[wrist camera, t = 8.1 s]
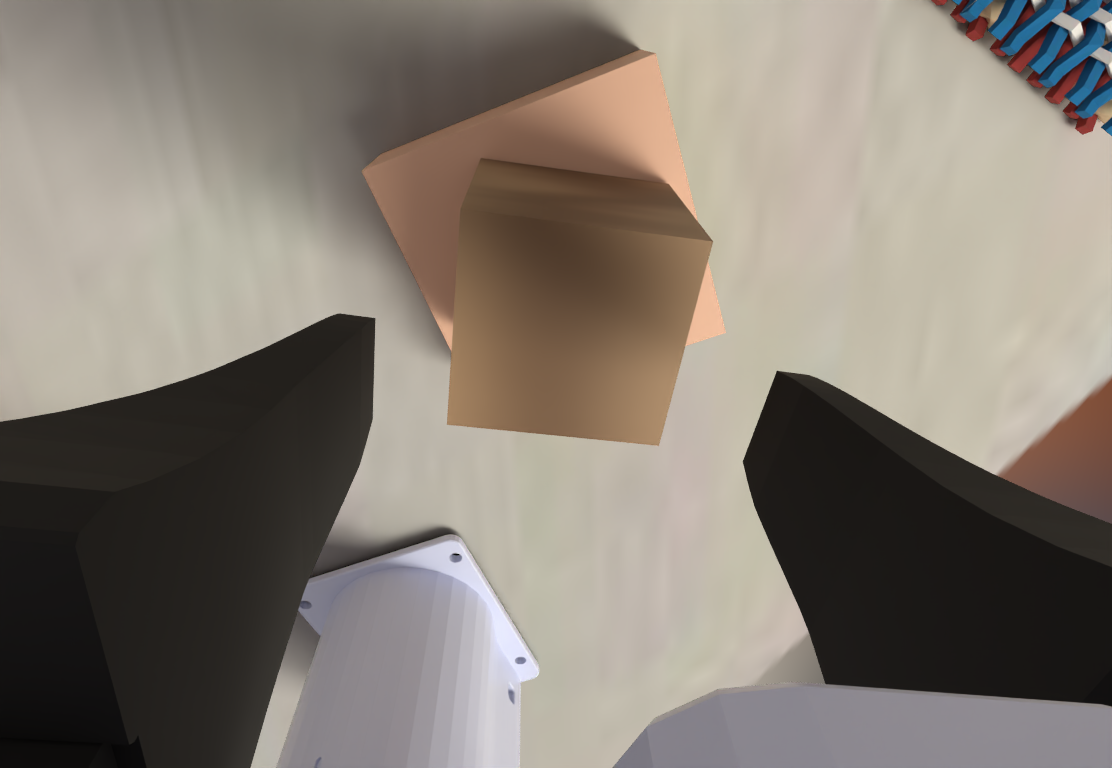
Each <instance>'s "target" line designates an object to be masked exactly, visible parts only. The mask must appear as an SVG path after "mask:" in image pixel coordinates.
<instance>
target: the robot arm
mask: <svg viewBox="0 0 1112 768" xmlns="http://www.w3.org/2000/svg"><path fill="white" fill-rule="evenodd" d="M374 348H375V318H369V317H362V316H354V315H346V314H336V315H333V316H330V317H328V318H325V319H323V320H321V321H319V322H317V323H315V324H313V325H311V326H309V327H307V328H305V329H303V330H301V331H299V332H297V333H294V334H292V335H290V336H288V337H286V338H284V339H282V340H280V341H278V342H276V343H274V344H272V345H270V346H268V347H265V348H263V349H261V350H259V351H256V352H254V353H252V354H249V355H247V356H244V357H242V358H240V359H237V360H235V361H233V362H230V363H228V364H226V365H223V366H221V367H218V368H216V369H214V370H211V371H208V372H205V373H203V374H200V375H197V376H194V377H191V378H189V379H186V380H183V381H179V382H176V383H173V384H170V385H166V386H163V387H160V388H157V389H154V390H150V391H146V392H143V393H139V394H135V395H131V396H127V397H123V398H118V399H114V400H110V401H105V402H101V403H97V404H93V405H88V406H84V407H80V408H76V409H71V410H66V411H61V412H56V413H50V414H45V415H39V416H33V417H28V418H22V419H16V420H9V421H3V422H0V768H250V767H251V764H252V760H253V757H254V753H255V750H256V746H257V743H258V739H259V736H260V732H261V729H262V725H263V722H264V719H265V715H266V712H267V708H268V705H269V702H270V698H271V695H272V692H273V688H274V685H275V682H276V679H277V675H278V672H279V669H280V666H281V662H282V659H283V656H284V652H285V649H286V646H287V643H288V640H289V637H290V634H291V631H292V627H293V624H294V621H295V618H296V615H297V612H298V611H299V612H300V613H301V615H302V616H303V617H304V618H305V619H306V620H307V622H308V623H309V624H310V625H311V626H312V627H313V629H314V630H315V631H316V632H317V633H318V634H319V636H320V639H319V642H318V645H317V648H316V651H315V654H314V657H313V660H312V663H311V666H310V669H309V672H308V675H307V678H306V681H305V683H304V686H303V689H302V692H301V695H300V698H299V701H298V704H297V707H296V710H295V713H294V716H293V719H292V722H291V725H290V728H289V731H288V734H287V737H286V740H285V743H284V746H283V749H282V752H281V755H280V758H279V761H278V763H277V766H276V768H520V695H521V682H523V681H527V680H531V679H533V678H536V677H537V676H538V674H539V665H538V663H537V661H536V659H535V658H534V656H533V655H532V653H531V651H530V650H529V648H528V646H527V645H526V643H525V642H524V640H523V638H522V637H521V635H520V633H519V632H518V630H517V628H516V627H515V625H514V624H513V622H512V620H511V619H510V617H509V615H508V614H507V612H506V610H505V609H504V607H503V606H502V604H501V602H500V601H499V599H498V597H497V596H496V594H495V593H494V591H493V589H492V588H491V586H490V584H489V583H488V581H487V579H486V578H485V576H484V575H483V573H482V571H481V570H480V568H479V566H478V565H477V563H476V562H475V560H474V558H473V557H472V555H471V553H470V552H469V550H468V548H467V547H466V545H465V544H464V542H463V540H462V539H461V538H460V537H458V536H456V535H452V534H449V535H444V536H441V537H438V538H435V539H432V540H429V541H426V542H422V543H419V544H416V545H413V546H410V547H407V548H404V549H401V550H397V551H394V552H391V553H388V554H385V555H382V556H379V557H376V558H372V559H369V560H366V561H363V562H360V563H357V564H354V565H350V566H347V567H344V568H341V569H338V570H335V571H332V572H329V573H325V574H322V575H319V576H316V577H313V578H310V575H311V573H312V570H313V568H314V566H315V563H316V561H317V559H318V557H319V554H320V552H321V550H322V548H323V546H324V543H325V541H326V539H327V537H328V535H329V532H330V530H331V528H332V526H333V524H334V521H335V519H336V517H337V515H338V513H339V510H340V508H341V506H342V504H343V502H344V499H345V497H346V495H347V493H348V490H349V488H350V486H351V484H352V481H353V479H354V477H355V475H356V472H357V470H358V468H359V465H360V462H361V459H362V455H363V452H364V448H365V445H366V441H367V438H368V434H369V431H370V427H371V423H372V420H373V384H374ZM743 464H744V468H745V472H746V477H747V481H748V485H749V489H750V492H751V496H752V499H753V503H754V506H755V509H756V511H757V514H758V516H759V518H760V521H761V523H762V525H763V528H764V530H765V532H766V535H767V537H768V539H769V541H770V544H771V546H772V548H773V550H774V553H775V555H776V557H777V559H778V562H779V564H780V566H781V568H782V570H783V573H784V575H785V577H786V579H787V582H788V584H789V586H790V588H791V590H792V593H793V595H794V597H795V599H796V602H797V604H798V606H799V608H800V611H801V613H802V616H803V618H804V621H805V623H806V626H807V628H808V631H809V634H810V637H811V640H812V643H813V646H814V648H815V652H816V656H817V658H818V662H819V665H820V668H821V671H822V674H823V677H824V681H825V684H815V683H800V682H785V683H775V684H766V685H755V686H745V687H735V688H724V689H717V690H715V691H713V692H711V693H709V694H706V695H704V696H702V697H700V698H697V699H695V700H693V701H691V702H689V703H686V704H684V705H682V706H680V707H678V708H675V709H673V710H671V711H669V712H667V713H664V714H662V715H660V716H658V717H656V718H654V720H653V721H652V722H651V723H650V724H649V725H648V726H647V727H646V728H645V729H644V731H643V732H642V733H641V734H640V735H639V737H638V738H637V739H636V740H635V741H634V743H633V744H632V745H631V746H630V747H629V749H628V750H627V751H626V752H625V753H624V755H623V756H622V757H621V758H620V759H619V761H618V762H617V763H616V764H615V765H614V767H613V768H1112V524H1110V523H1108V522H1105V521H1103V520H1100V519H1098V518H1095V517H1093V516H1090V515H1087V514H1085V513H1082V512H1080V511H1077V510H1074V509H1072V508H1069V507H1066V506H1064V505H1062V504H1059V503H1057V502H1054V501H1052V500H1050V499H1047V498H1045V497H1042V496H1040V495H1038V494H1035V493H1033V492H1031V491H1029V490H1027V489H1025V488H1022V487H1020V486H1018V485H1016V484H1014V483H1012V482H1009V481H1007V480H1005V479H1003V478H1001V477H998V476H996V475H994V474H992V473H990V472H988V471H986V470H984V469H982V468H980V467H978V466H976V465H974V464H972V463H970V462H968V461H966V460H964V459H962V458H960V457H959V456H957V455H955V454H953V453H951V452H949V451H947V450H945V449H944V448H942V447H940V446H938V445H936V444H934V443H932V442H931V441H929V440H927V439H925V438H923V437H922V436H920V435H918V434H916V433H915V432H913V431H911V430H909V429H908V428H906V427H904V426H902V425H901V424H899V423H897V422H896V421H894V420H892V419H890V418H889V417H887V416H885V415H884V414H882V413H880V412H879V411H877V410H875V409H873V408H872V407H870V406H868V405H867V404H865V403H863V402H861V401H860V400H858V399H856V398H854V397H853V396H851V395H849V394H847V393H846V392H844V391H842V390H840V389H838V388H836V387H834V386H833V385H831V384H829V383H827V382H824V381H822V380H820V379H818V378H815V377H812V376H810V375H804V374H796V373H789V372H781V371H777V372H776V375H775V378H774V380H773V383H772V386H771V388H770V391H769V394H768V396H767V399H766V402H765V404H764V407H763V410H762V412H761V415H760V418H759V420H758V423H757V425H756V428H755V431H754V433H753V436H752V439H751V441H750V444H749V447H748V449H747V452H746V455H745V457H744V460H743ZM453 553H457V554H460V555H458V556H455V555H452V554H453ZM309 578H310V579H309ZM306 601H308V602H306Z"/></svg>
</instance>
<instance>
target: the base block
mask: <svg viewBox="0 0 1112 768" xmlns="http://www.w3.org/2000/svg"><path fill="white" fill-rule="evenodd" d="M481 158H484V159H492V160H499V161H506V162H514V163H521V164H528V165H536V166H543V167H550V168H557V169H565V170H572V171H579V172H587V173H594V174H601V175H609V176H616V177H623V178H631V179H638V180H645V181H652V182H660V183H667V184H669V185H670V186H671V187H672V189H673V190H674V191H675V193H676V194H677V195H678V197H679V198H680V199H681V200H682V202H683V203H684V204H685V206H686V207H687V208H688V210H689V211H690V212H691V213H692V215H693V216H694V217H695V219H696V220H697V216H696V212H695V208H694V204H693V200H692V196H691V192H690V188H689V184H688V180H687V176H686V172H685V168H684V164H683V160H682V156H681V152H680V148H679V144H678V140H677V136H676V132H675V128H674V124H673V120H672V116H671V113H670V109H669V105H668V101H667V97H666V93H665V89H664V85H663V81H662V77H661V73H660V69H659V65H658V61H657V57H656V53H652V52H648V51H644V50H638V51H635V52H633V53H630V54H628V55H625V56H623V57H620V58H618V59H615V60H613V61H610V62H608V63H605V64H603V65H600V66H598V67H595V68H593V69H590V70H588V71H586V72H583V73H581V74H578V75H576V76H573V77H571V78H568V79H566V80H563V81H561V82H558V83H556V84H553V85H551V86H548V87H546V88H543V89H541V90H538V91H536V92H533V93H531V94H528V95H526V96H523V97H521V98H518V99H516V100H514V101H511V102H509V103H506V104H504V105H501V106H499V107H496V108H494V109H491V110H489V111H486V112H484V113H481V114H479V115H476V116H474V117H471V118H469V119H466V120H464V121H461V122H459V123H456V124H454V125H451V126H449V127H446V128H444V129H441V130H439V131H437V132H434V133H432V134H429V135H427V136H424V137H422V138H419V139H417V140H414V141H412V142H409V143H407V144H404V145H402V146H399V147H397V148H394V149H392V150H389V151H387V152H384V153H382V154H380V155H379V156H378V157H377V158H376V159H375V160H373V161H372V162H371V163H370V164H369V165H368V166H367V167H365V168H364V169H363V170H362V173H363V175H364V177H365V179H366V181H367V183H368V185H369V187H370V189H371V191H372V193H373V195H374V197H375V199H376V201H377V203H378V205H379V207H380V209H381V211H382V213H383V215H384V217H385V219H386V221H387V223H388V225H389V227H390V229H391V231H392V233H393V235H394V237H395V239H396V241H397V243H398V245H399V247H400V250H401V252H402V254H403V256H404V258H405V260H406V262H407V264H408V266H409V268H410V270H411V272H412V274H413V276H414V278H415V280H416V282H417V284H418V286H419V288H420V290H421V292H422V294H423V296H424V298H425V300H426V302H427V304H428V306H429V308H430V310H431V312H432V314H433V316H434V318H435V320H436V322H437V324H438V326H439V328H440V330H441V332H442V334H443V336H444V338H445V340H446V342H447V344H448V346H449V348H450V350H451V352H452V336H453V320H454V303H455V287H456V271H457V255H458V238H459V222H460V208H461V206H462V203H463V201H464V199H465V196H466V194H467V191H468V189H469V186H470V184H471V181H472V179H473V176H474V174H475V171H476V169H477V166H478V164H479V162H480V159H481ZM697 221H698V220H697ZM723 333H726V331H725V327H724V323H723V319H722V315H721V311H720V307H719V303H718V299H717V296H716V292H715V288H714V284H713V280H712V276H711V272H710V268H709V264H708V262H707V266H706V270H705V274H704V277H703V281H702V285H701V289H700V292H699V296H698V300H697V304H696V307H695V311H694V315H693V319H692V322H691V326H690V330H689V334H688V338H687V341H686V345H685V346H687V345H690V344H693V343H696V342H699V341H702V340H705V339H708V338H711V337H714V336H717V335H720V334H723Z"/></svg>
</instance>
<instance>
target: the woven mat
mask: <svg viewBox="0 0 1112 768" xmlns="http://www.w3.org/2000/svg"><path fill="white" fill-rule="evenodd" d="M931 1H933V2H934V3H935V4H936V5H944V4H945V3H946V1H947V0H931ZM952 1H954V2H955V3H956V4H957V6H956V8H955V9H954V10H953V11H952V13H951V14H950V15H951V16H952V17H953V18H954V19H955V20H956V21H957V22H961V23H965V22H966V20H967V21H969V22H970V23H969V26H968V29H967V32H966V36H967V37H968V38H970V39H971V40H972V41H975V40H977V39H980V38H982V37H983V36H984V33H985V30H986V28H987V25H988V31H989V32H990V33H991V34H992V35H993V36H994V37H996V38H997V40H996V41H995V42H994V44H993V45H992V46H991V48H990V50H991V51H992V52H994V53H995V54H996V55H997V56H1005V55H1006V54H1007V55H1009V56H1011V55H1013V54H1015V55H1014V57H1013V58H1012V59H1011V60H1010V61H1009V63H1008V64H1007V65H1008V66H1009V67H1010V68H1012V69H1013V70H1014V71H1016V72H1018V73H1020V72H1021V71H1022V70H1023V69H1024V67H1025V66H1026V65H1027V64H1028V65H1029V66H1030V67H1031V68H1032V69H1033V70H1034V71H1033V73H1032V74H1031V75H1030V76H1029V77H1028V79H1027V80H1026V81H1028V82H1029V83H1030V84H1031V85H1032V86H1035V87H1039V88H1041V87H1042V86H1043V85H1044V86H1045V87H1047V88H1049V87H1052V88H1051V89H1050V90H1049V91H1048V93H1047V94H1046V95H1045V98H1046V99H1047V100H1048V101H1050V102H1051V103H1056V104H1060V102H1061V101H1062V100H1063V99H1064V97H1066V98H1067V99H1068V100H1070V101H1071V102H1070V103H1069V104H1068V106H1067V107H1066V108H1065V109H1064V110H1063V112H1064V113H1065V114H1066V115H1067V116H1069V117H1070V118H1074V119H1077V118H1078V117H1079V118H1078V121H1077V124H1076V128H1075V129H1076V130H1077V131H1079V132H1080V133H1081V134H1085V133H1088V132H1091V131H1093V128H1094V125H1095V123H1096V120H1097V118H1098V119H1099V120H1101V121H1102V122H1103V123H1104V125H1103V126H1102V127H1101V128H1103V129H1104V130H1105V131H1106V132H1107V133H1109V134H1110V135H1111V136H1112V0H952Z"/></svg>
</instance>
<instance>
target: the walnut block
mask: <svg viewBox="0 0 1112 768" xmlns="http://www.w3.org/2000/svg"><path fill="white" fill-rule="evenodd" d="M712 243H713V241H712V240H711V238H710V237H709V236H708V234H707V233H706V232H705V230H704V229H703V228H702V227H701V225H700V224H699V223H698V221H697V220H696V219H695V217H694V216H693V215H692V213H691V212H690V211H689V210H688V208H687V207H686V206H685V204H684V203H683V202H682V200H681V199H680V198H679V197H678V195H677V194H676V193H675V191H674V190H673V189H672V187H671V186H670V185H669V184H667V183H660V182H652V181H645V180H638V179H631V178H623V177H616V176H609V175H601V174H594V173H587V172H579V171H572V170H565V169H557V168H550V167H543V166H536V165H528V164H521V163H514V162H506V161H499V160H492V159H484V158H481V159H480V162H479V164H478V166H477V169H476V171H475V174H474V176H473V179H472V181H471V184H470V186H469V189H468V191H467V194H466V196H465V199H464V201H463V203H462V206H461V208H460V222H459V238H458V255H457V271H456V287H455V303H454V320H453V336H452V352H451V368H450V385H449V401H448V417H447V425H457V426H467V427H477V428H487V429H497V430H507V431H517V432H527V433H537V434H547V435H557V436H567V437H577V438H587V439H597V440H607V441H617V442H627V443H637V444H647V445H657V446H659V443H660V439H661V435H662V432H663V428H664V424H665V420H666V417H667V413H668V409H669V405H670V402H671V398H672V394H673V390H674V386H675V383H676V379H677V375H678V371H679V368H680V364H681V360H682V356H683V353H684V349H685V345H686V341H687V338H688V334H689V330H690V326H691V322H692V319H693V315H694V311H695V307H696V304H697V300H698V296H699V292H700V289H701V285H702V281H703V277H704V274H705V270H706V266H707V262H708V258H709V255H710V251H711V247H712Z"/></svg>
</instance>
